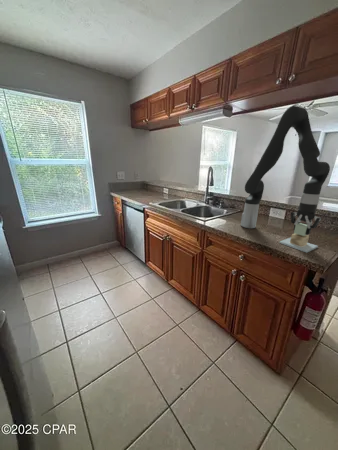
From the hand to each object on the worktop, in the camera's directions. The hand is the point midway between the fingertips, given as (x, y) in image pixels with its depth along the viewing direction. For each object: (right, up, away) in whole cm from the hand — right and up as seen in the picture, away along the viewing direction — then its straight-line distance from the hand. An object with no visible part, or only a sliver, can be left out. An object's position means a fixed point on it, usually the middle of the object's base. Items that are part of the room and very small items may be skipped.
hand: (301, 232), depth 101 cm
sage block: (0, -1, 0) cm, 0 cm away
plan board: (0, -7, +2) cm, 7 cm away
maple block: (0, -6, +2) cm, 6 cm away
